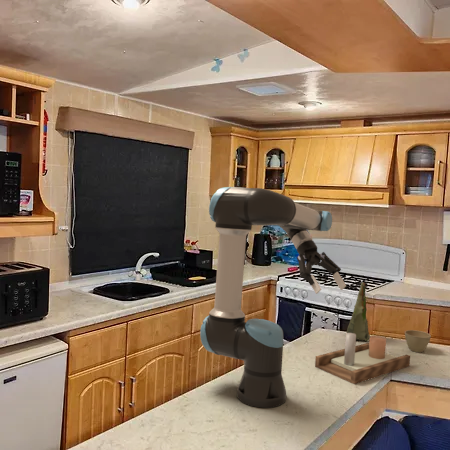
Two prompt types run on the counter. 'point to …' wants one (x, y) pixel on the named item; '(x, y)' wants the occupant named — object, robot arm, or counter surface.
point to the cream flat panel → (356, 356)
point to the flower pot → (417, 340)
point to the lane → (362, 373)
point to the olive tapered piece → (359, 317)
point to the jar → (377, 347)
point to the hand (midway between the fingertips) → (331, 289)
